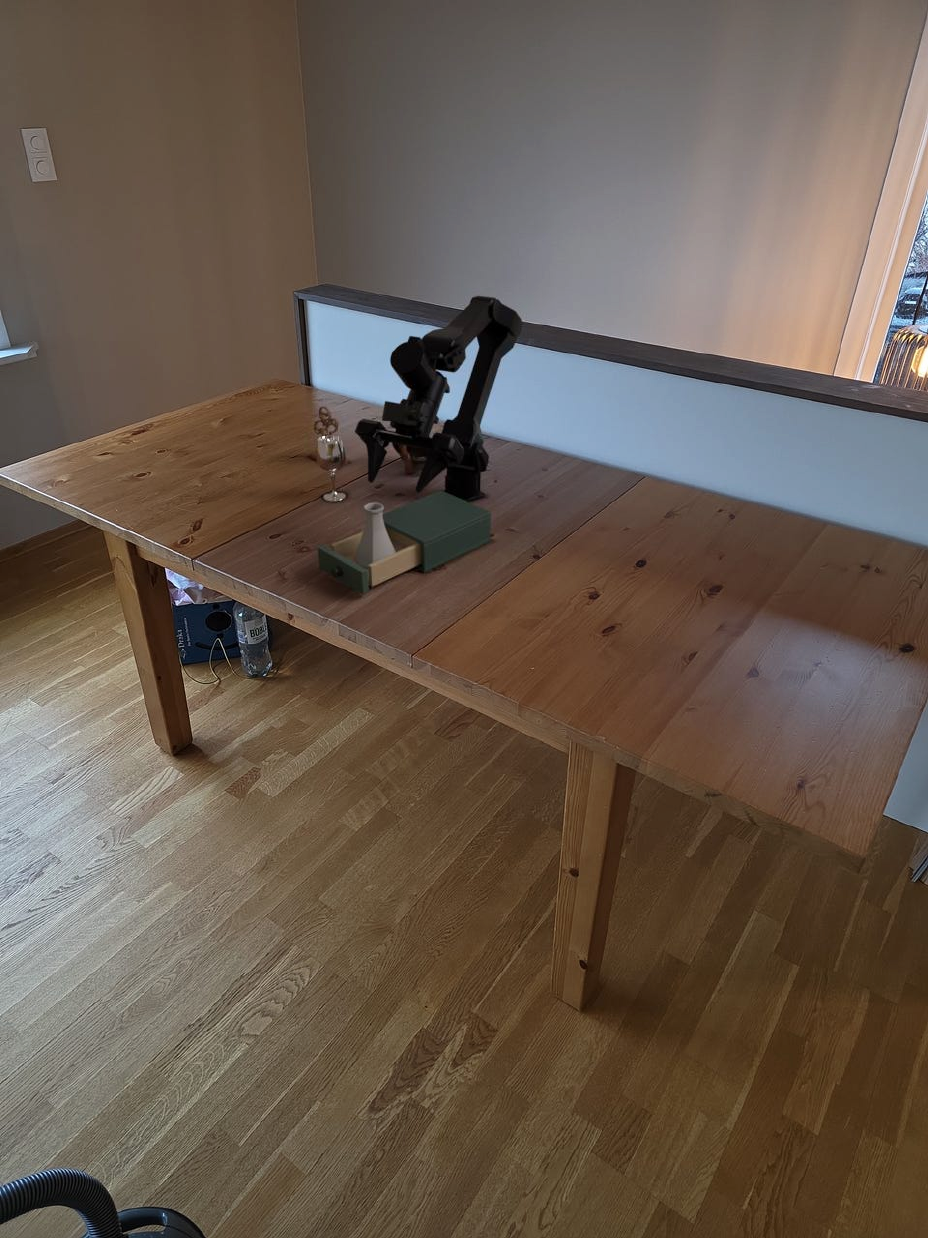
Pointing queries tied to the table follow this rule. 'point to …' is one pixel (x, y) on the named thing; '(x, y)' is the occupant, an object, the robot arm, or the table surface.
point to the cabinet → (441, 527)
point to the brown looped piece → (326, 424)
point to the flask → (373, 537)
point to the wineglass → (331, 461)
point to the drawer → (358, 577)
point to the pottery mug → (411, 457)
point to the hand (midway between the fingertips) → (393, 486)
